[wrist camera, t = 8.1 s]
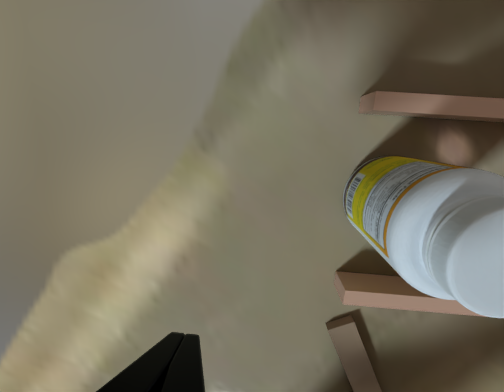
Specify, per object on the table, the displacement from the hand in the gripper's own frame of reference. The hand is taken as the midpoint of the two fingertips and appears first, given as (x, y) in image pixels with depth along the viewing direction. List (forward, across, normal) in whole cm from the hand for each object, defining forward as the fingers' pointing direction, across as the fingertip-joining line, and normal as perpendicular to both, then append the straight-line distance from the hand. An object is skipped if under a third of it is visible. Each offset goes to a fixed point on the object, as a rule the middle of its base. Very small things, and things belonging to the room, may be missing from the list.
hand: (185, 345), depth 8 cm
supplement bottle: (+12, -10, -3) cm, 16 cm away
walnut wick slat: (+12, -10, +10) cm, 19 cm away
